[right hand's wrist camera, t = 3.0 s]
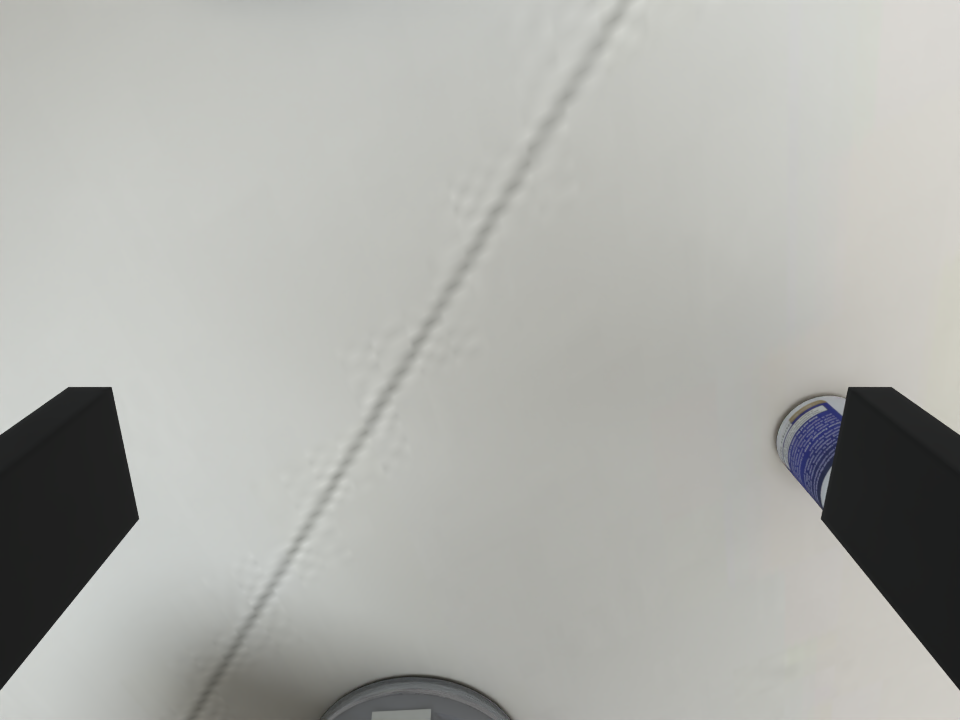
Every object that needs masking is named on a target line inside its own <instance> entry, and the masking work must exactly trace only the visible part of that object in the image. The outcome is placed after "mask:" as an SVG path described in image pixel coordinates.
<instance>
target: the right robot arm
mask: <svg viewBox="0 0 960 720" xmlns="http://www.w3.org/2000/svg"><path fill="white" fill-rule="evenodd" d="M138 520H139V516H138V511H137V506H136V502H135V497H134V492H133V487H132V483H131V478H130V473H129V468H128V463H127V459H126V454H125V449H124V444H123V440H122V435H121V430H120V425H119V420H118V416H117V411H116V406H115V401H114V396H113V392H112V387H68V388H67V389H65V390H64V391H62V392H61V393H60V394H58V395H57V396H55V397H54V398H52V399H51V400H50V401H48V402H47V403H45V404H44V405H42V406H41V407H40V408H38V409H37V410H35V411H34V412H32V413H31V414H30V415H28V416H27V417H25V418H24V419H23V420H21V421H20V422H18V423H17V424H15V425H14V426H13V427H11V428H10V429H8V430H7V431H5V432H4V433H3V434H1V435H0V690H1V689H2V688H3V686H4V685H5V684H6V683H7V681H8V680H9V679H10V678H11V676H12V675H13V674H14V673H15V671H16V670H17V669H18V668H19V667H20V665H21V664H22V663H23V662H24V660H25V659H26V658H27V657H28V655H29V654H30V653H31V652H32V650H33V649H34V648H35V647H36V646H37V644H38V643H39V642H40V641H41V639H42V638H43V637H44V636H45V634H46V633H47V632H48V631H49V629H50V628H51V627H52V626H53V625H54V623H55V622H56V621H57V620H58V618H59V617H60V616H61V615H62V613H63V612H64V611H65V610H66V608H67V607H68V606H69V605H70V604H71V602H72V601H73V600H74V599H75V597H76V596H77V595H78V594H79V592H80V591H81V590H82V589H83V588H84V586H85V585H86V584H87V583H88V581H89V580H90V579H91V578H92V576H93V575H94V574H95V573H96V571H97V570H98V569H99V568H100V567H101V565H102V564H103V563H104V562H105V560H106V559H107V558H108V557H109V555H110V554H111V553H112V552H113V550H114V549H115V548H116V547H117V546H118V544H119V543H120V542H121V541H122V539H123V538H124V537H125V536H126V534H127V533H128V532H129V531H130V529H131V528H132V527H133V526H134V525H135V523H136V522H137V521H138ZM821 520H822V521H823V522H824V523H825V525H826V526H827V527H828V528H829V529H830V531H831V532H832V533H833V534H834V536H835V537H836V538H837V539H838V541H839V542H840V543H841V544H842V546H843V547H844V548H845V549H846V550H847V552H848V553H849V554H850V555H851V557H852V558H853V559H854V560H855V562H856V563H857V564H858V565H859V567H860V568H861V569H862V570H863V571H864V573H865V574H866V575H867V576H868V578H869V579H870V580H871V581H872V583H873V584H874V585H875V586H876V588H877V589H878V590H879V591H880V592H881V594H882V595H883V596H884V597H885V599H886V600H887V601H888V602H889V604H890V605H891V606H892V607H893V608H894V610H895V611H896V612H897V613H898V615H899V616H900V617H901V618H902V620H903V621H904V622H905V623H906V625H907V626H908V627H909V628H910V629H911V631H912V632H913V633H914V634H915V636H916V637H917V638H918V639H919V641H920V642H921V643H922V644H923V646H924V647H925V648H926V649H927V650H928V652H929V653H930V654H931V655H932V657H933V658H934V659H935V660H936V662H937V663H938V664H939V665H940V667H941V668H942V669H943V670H944V671H945V673H946V674H947V675H948V676H949V678H950V679H951V680H952V681H953V683H954V684H955V685H956V686H957V688H958V689H959V690H960V435H959V434H957V433H956V432H955V431H953V430H952V429H950V428H949V427H947V426H946V425H945V424H943V423H942V422H940V421H939V420H937V419H936V418H935V417H933V416H932V415H930V414H929V413H928V412H926V411H925V410H923V409H922V408H920V407H919V406H918V405H916V404H915V403H913V402H912V401H910V400H909V399H908V398H906V397H905V396H903V395H902V394H900V393H899V392H898V391H896V390H895V389H893V388H892V387H848V392H847V396H846V401H845V406H844V411H843V416H842V420H841V425H840V430H839V435H838V439H837V444H836V449H835V454H834V459H833V463H832V468H831V473H830V478H829V483H828V487H827V492H826V497H825V502H824V506H823V511H822V516H821ZM321 720H510V718H509V717H508V716H507V715H506V714H505V712H504V711H503V710H502V709H500V708H499V707H498V706H497V705H496V704H495V703H493V702H492V701H491V700H489V699H488V698H486V697H485V696H483V695H481V694H480V693H478V692H476V691H474V690H472V689H470V688H467V687H465V686H462V685H459V684H456V683H453V682H449V681H444V680H440V679H433V678H423V677H404V678H394V679H388V680H383V681H379V682H375V683H372V684H369V685H366V686H363V687H361V688H359V689H356V690H354V691H353V692H351V693H349V694H347V695H346V696H344V697H343V698H341V699H340V700H338V701H337V702H336V703H335V704H334V705H332V706H331V707H330V708H329V710H328V711H327V712H326V713H325V714H324V715H323V717H322V718H321Z"/></svg>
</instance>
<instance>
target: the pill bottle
mask: <svg viewBox="0 0 960 720" xmlns="http://www.w3.org/2000/svg"><path fill="white" fill-rule="evenodd" d="M845 401H846V399H845V398H842V397H837V396H821V397H816V398H813V399H810V400H808V401H806V402H804V403H802V404H800V405H799V406H797V407H796V408H795V409H793V410H792V411H791V412H790V413H789V414H788V415H787V417H786V418H785V419H784V421H783V422H782V424H781V426H780V429H779V431H778V435H777V451H778V454H779V456H780V459H781V460H782V462H783V463H784V465H785V466H786V467H787V468H788V470H789V471H790V472H791V473H792V474H793V476H794V477H795V478H796V479H797V480H798V481H799V483H800V484H801V485H802V486H803V487H804V488H805V490H806V491H807V492H808V493H809V494H810V495H811V497H812V498H813V499H814V500H815V501H816V503H817V504H818V505H819V506H820V507H821V509H822V510H823V506H824V502H825V497H826V492H827V487H828V483H829V478H830V473H831V468H832V463H833V459H834V454H835V449H836V444H837V439H838V435H839V430H840V425H841V420H842V416H843V411H844V406H845Z"/></svg>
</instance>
